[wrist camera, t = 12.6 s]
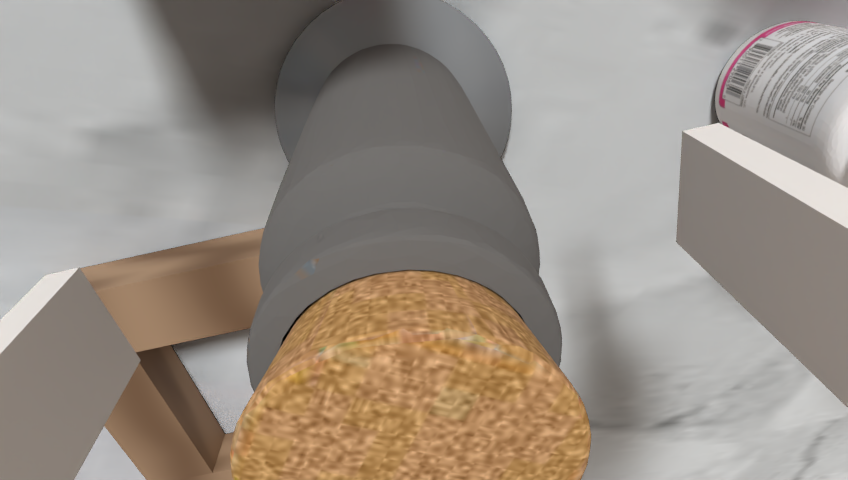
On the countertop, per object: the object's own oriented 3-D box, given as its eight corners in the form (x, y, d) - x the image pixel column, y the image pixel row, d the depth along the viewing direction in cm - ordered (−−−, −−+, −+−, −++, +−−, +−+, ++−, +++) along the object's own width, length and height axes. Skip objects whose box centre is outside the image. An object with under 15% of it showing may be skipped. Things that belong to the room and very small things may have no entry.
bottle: (499, 112, 20) (726, 439, 7) (402, 217, 22) (435, 626, 9) (379, 4, 17) (375, 184, 5) (284, 133, 19) (93, 512, 7)
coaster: (318, 237, 23) (317, 243, 22) (241, 21, 18) (237, 23, 17) (519, 193, 22) (523, 199, 22) (492, -38, 18) (495, -38, 17)
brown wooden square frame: (193, 481, 30) (179, 521, 28) (47, 275, 22) (13, 309, 20) (443, 431, 29) (448, 468, 27) (379, 202, 22) (379, 229, 20)
